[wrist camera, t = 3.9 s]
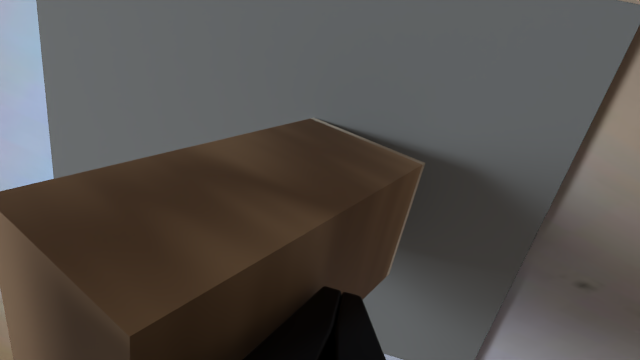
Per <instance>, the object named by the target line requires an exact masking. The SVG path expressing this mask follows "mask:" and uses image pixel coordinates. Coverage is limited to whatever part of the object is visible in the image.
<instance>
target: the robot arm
mask: <svg viewBox="0 0 640 360" xmlns="http://www.w3.org/2000/svg"><path fill="white" fill-rule="evenodd" d="M242 360H386V359H385V356H384V354H383V351H382V349H381V346H380V343H379V341H378V338H377V336H376V333H375V331H374V328H373V325H372V323H371V320H370V318H369V315H368V313H367V310H366V307H365V305H364V302H363V300H362V298H361V297H360V296H359V295H355V294H352V293H348V292H343V293H342V295H341V291H340V290H338V289H334V288H331V287H327V286H324V287H322V288H321V289H320V290H318V291H317V292H316V293H315V294H314V295H313V296H312V297H311V298H310V299H308V300H307V301H306V302H305V303H304V304H303V305H302V306H301V307H300V308H298V309H297V310H296V311H295V312H294V313H293V314H292V315H291V316H290V317H289V318H287V319H286V320H285V321H284V322H283V323H282V324H281V325H280V326H279V327H277V328H276V329H275V330H274V331H273V332H272V333H271V334H270V335H269V336H267V337H266V338H265V339H264V340H263V341H262V342H261V343H260V344H259V345H258V346H256V347H255V348H254V349H253V350H252V351H251V352H250V353H249V354H248V355H246V356H245V357H244V358H243V359H242Z"/></svg>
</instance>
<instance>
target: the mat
mask: <svg viewBox="0 0 640 360" xmlns="http://www.w3.org/2000/svg"><path fill="white" fill-rule="evenodd" d="M36 1H37V12H38V22H39V32H40V42H41V52H42V62H43V73H44V83H45V93H46V103H47V113H48V123H49V134H50V144H51V154H52V164H53V174H54V179H55V178H60V177H64V176H68V175H72V174H77V173H81V172H85V171H89V170H94V169H98V168H102V167H106V166H111V165H115V164H119V163H123V162H128V161H132V160H136V159H140V158H145V157H149V156H153V155H157V154H162V153H166V152H170V151H174V150H179V149H183V148H187V147H191V146H196V145H200V144H204V143H208V142H213V141H217V140H221V139H225V138H230V137H234V136H238V135H242V134H246V133H251V132H255V131H259V130H263V129H268V128H272V127H276V126H280V125H285V124H289V123H293V122H297V121H302V120H306V119H310V118H316V119H319V120H321V121H324V122H326V123H328V124H331V125H333V126H336V127H338V128H341V129H343V130H346V131H348V132H350V133H353V134H355V135H358V136H360V137H363V138H365V139H368V140H370V141H372V142H375V143H377V144H380V145H382V146H385V147H387V148H390V149H392V150H395V151H397V152H399V153H402V154H404V155H407V156H409V157H412V158H414V159H417V160H419V161H421V162H424V163H425V166H424V169H423V172H422V175H421V178H420V181H419V184H418V187H417V190H416V193H415V196H414V200H413V203H412V206H411V209H410V212H409V215H408V218H407V221H406V224H405V227H404V230H403V233H402V236H401V239H400V242H399V245H398V249H397V252H396V255H395V258H394V261H393V264H392V267H391V270H390V273H389V275H388V276H387V277H386V278H385V279H384V280H383V281H382V282H381V283H379V284H378V285H377V286H376V287H375V288H374V289H373V290H372V291H371V292H370V293H369V294H368V295H367V296H366V297H365V298H364V299H363V302H364V305H365V307H366V310H367V313H368V315H369V318H370V320H371V323H372V325H373V328H374V331H375V333H376V336H377V338H378V341H379V343H380V346H381V349H382V351H383V353H384V354H387V355H390V356H394V357H397V358H400V359H404V360H475V358H476V356H477V354H478V352H479V350H480V348H481V346H482V344H483V342H484V340H485V338H486V336H487V334H488V332H489V330H490V327H491V325H492V323H493V321H494V319H495V317H496V315H497V313H498V311H499V309H500V307H501V305H502V303H503V301H504V299H505V297H506V295H507V293H508V291H509V289H510V287H511V285H512V283H513V281H514V279H515V277H516V275H517V273H518V271H519V269H520V267H521V265H522V263H523V261H524V258H525V256H526V254H527V252H528V250H529V248H530V246H531V244H532V242H533V240H534V238H535V236H536V234H537V232H538V230H539V228H540V226H541V224H542V222H543V220H544V218H545V216H546V214H547V212H548V210H549V208H550V206H551V204H552V202H553V200H554V198H555V196H556V194H557V192H558V190H559V187H560V185H561V183H562V181H563V179H564V177H565V175H566V173H567V171H568V169H569V167H570V165H571V163H572V161H573V159H574V157H575V155H576V153H577V151H578V149H579V147H580V145H581V143H582V141H583V139H584V137H585V135H586V133H587V131H588V129H589V127H590V125H591V123H592V121H593V118H594V116H595V114H596V112H597V110H598V108H599V106H600V104H601V102H602V100H603V98H604V96H605V94H606V92H607V90H608V88H609V86H610V84H611V82H612V80H613V78H614V76H615V74H616V72H617V70H618V68H619V66H620V64H621V62H622V60H623V58H624V56H625V54H626V52H627V50H628V47H629V45H630V43H631V41H632V39H633V37H634V35H635V33H636V31H637V29H638V27H639V25H640V5H638V4H633V3H628V2H623V1H618V0H36Z"/></svg>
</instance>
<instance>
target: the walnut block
mask: <svg viewBox="0 0 640 360" xmlns="http://www.w3.org/2000/svg"><path fill="white" fill-rule="evenodd" d="M424 166H425V163H424V162H421V161H419V160H417V159H414V158H412V157H409V156H407V155H404V154H402V153H399V152H397V151H395V150H392V149H390V148H387V147H385V146H382V145H380V144H377V143H375V142H372V141H370V140H368V139H365V138H363V137H360V136H358V135H355V134H353V133H350V132H348V131H346V130H343V129H341V128H338V127H336V126H333V125H331V124H328V123H326V122H324V121H321V120H319V119H316V118H310V119H306V120H302V121H297V122H293V123H289V124H285V125H280V126H276V127H272V128H268V129H263V130H259V131H255V132H251V133H246V134H242V135H238V136H234V137H230V138H225V139H221V140H217V141H213V142H208V143H204V144H200V145H196V146H191V147H187V148H183V149H179V150H174V151H170V152H166V153H162V154H157V155H153V156H149V157H145V158H140V159H136V160H132V161H128V162H123V163H119V164H115V165H111V166H106V167H102V168H98V169H94V170H89V171H85V172H81V173H77V174H72V175H68V176H64V177H60V178H55V179H51V180H47V181H43V182H38V183H34V184H30V185H26V186H22V187H17V188H13V189H9V190H5V191H0V288H1V293H2V299H3V304H4V310H5V315H6V321H7V326H8V331H9V337H10V342H11V348H12V353H13V359H14V360H242V359H243V358H244V357H245V356H246V355H248V354H249V353H250V352H251V351H252V350H253V349H254V348H255V347H256V346H258V345H259V344H260V343H261V342H262V341H263V340H264V339H265V338H266V337H267V336H269V335H270V334H271V333H272V332H273V331H274V330H275V329H276V328H277V327H279V326H280V325H281V324H282V323H283V322H284V321H285V320H286V319H287V318H289V317H290V316H291V315H292V314H293V313H294V312H295V311H296V310H297V309H298V308H300V307H301V306H302V305H303V304H304V303H305V302H306V301H307V300H308V299H310V298H311V297H312V296H313V295H314V294H315V293H316V292H317V291H318V290H320V289H321V288H322V287H324V286H327V287H331V288H334V289H338V290H340V291H341V295H342V293H343V292H348V293H352V294H355V295H359V296H360V297H361V298H362V300H363V299H364V298H365V297H366V296H367V295H368V294H369V293H370V292H371V291H372V290H373V289H374V288H375V287H376V286H377V285H378V284H379V283H381V282H382V281H383V280H384V279H385V278H386V277H387V276H388V275H389V273H390V270H391V267H392V264H393V261H394V258H395V255H396V252H397V249H398V245H399V242H400V239H401V236H402V233H403V230H404V227H405V224H406V221H407V218H408V215H409V212H410V209H411V206H412V203H413V200H414V196H415V193H416V190H417V187H418V184H419V181H420V178H421V175H422V172H423V169H424Z"/></svg>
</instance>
